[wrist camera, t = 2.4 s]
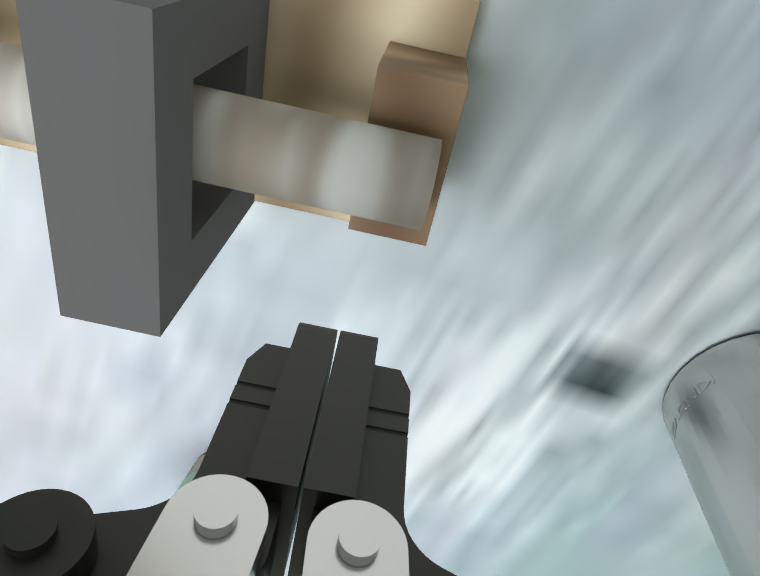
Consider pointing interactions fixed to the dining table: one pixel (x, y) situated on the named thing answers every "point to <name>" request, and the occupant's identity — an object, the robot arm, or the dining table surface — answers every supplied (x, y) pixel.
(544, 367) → the dining table surface
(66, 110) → the collar
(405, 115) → the pipe rig
